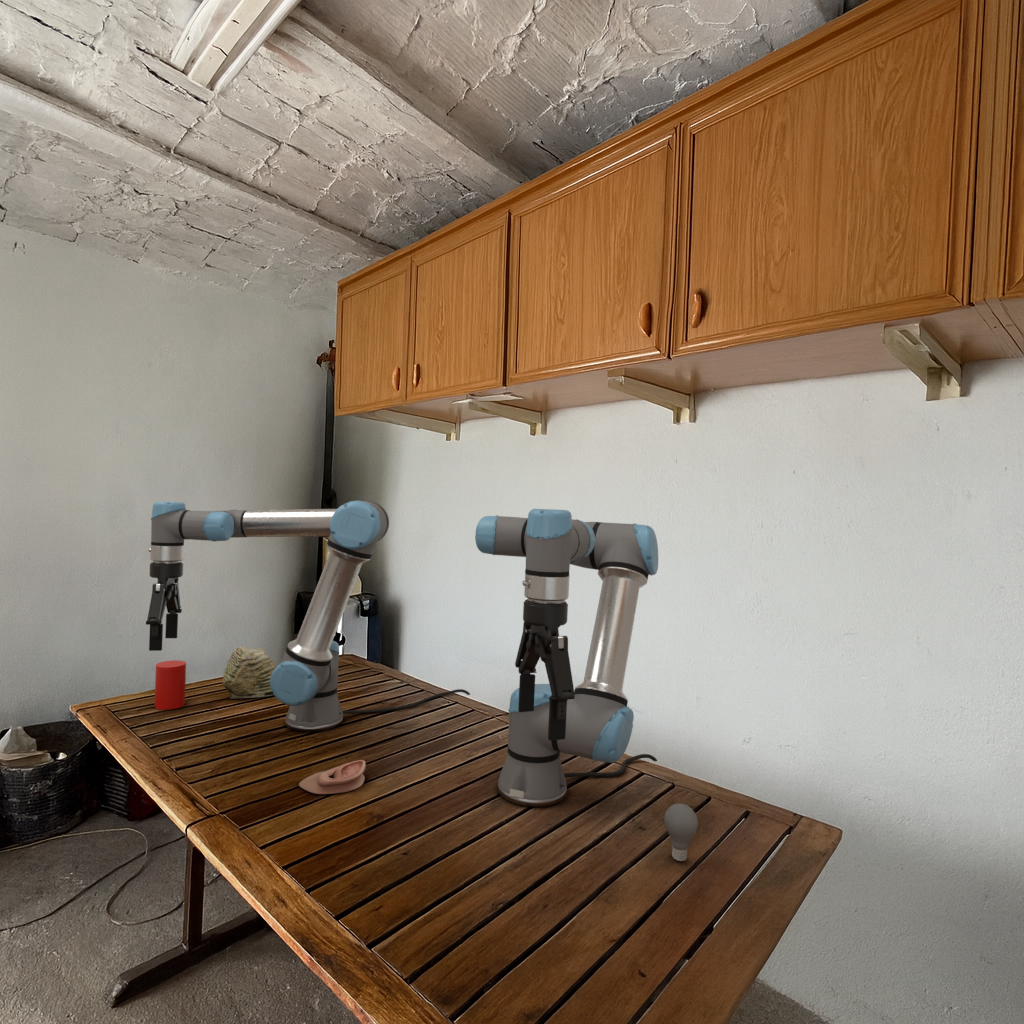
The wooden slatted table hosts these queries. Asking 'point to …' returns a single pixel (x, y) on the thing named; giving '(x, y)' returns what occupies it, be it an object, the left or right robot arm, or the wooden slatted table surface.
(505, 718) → the wooden slatted table surface
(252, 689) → the fossil
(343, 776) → the anatomical model
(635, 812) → the wooden slatted table surface
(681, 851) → the light bulb
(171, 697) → the tin
